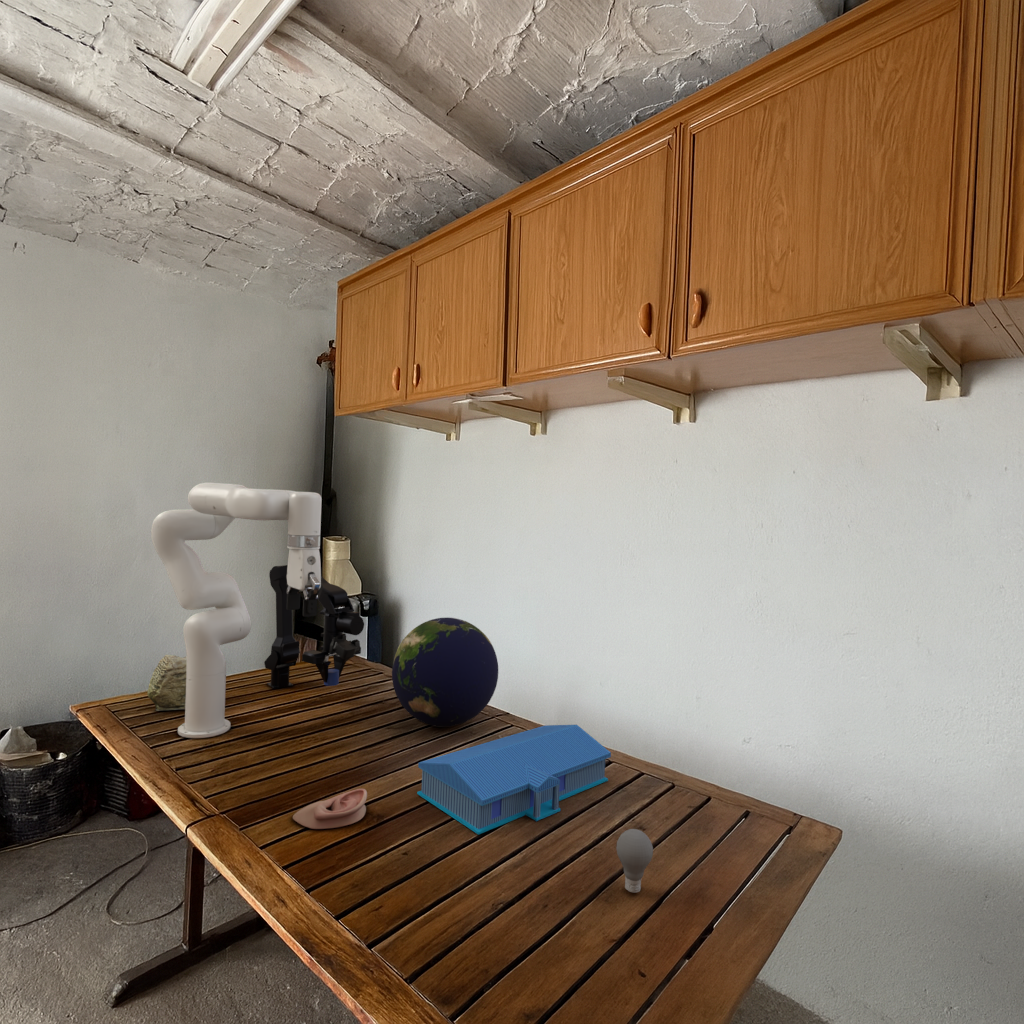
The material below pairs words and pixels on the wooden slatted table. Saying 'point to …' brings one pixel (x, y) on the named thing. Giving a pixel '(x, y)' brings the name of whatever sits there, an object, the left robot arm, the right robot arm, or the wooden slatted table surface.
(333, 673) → the canister
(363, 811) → the anatomical model
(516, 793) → the model building
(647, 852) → the light bulb
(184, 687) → the fossil
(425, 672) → the globe
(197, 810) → the wooden slatted table surface
